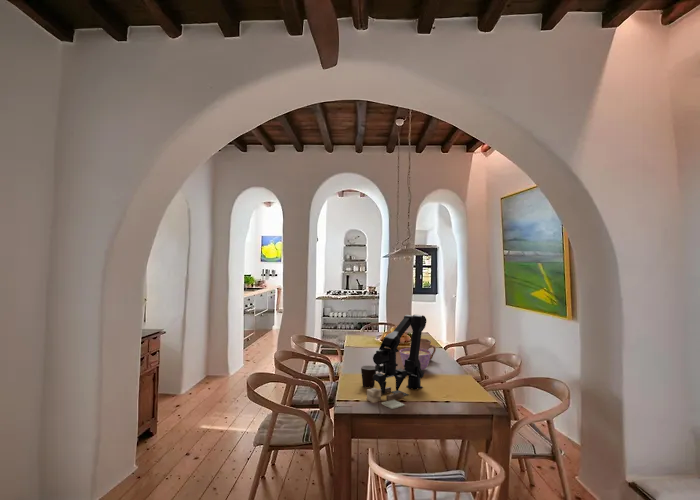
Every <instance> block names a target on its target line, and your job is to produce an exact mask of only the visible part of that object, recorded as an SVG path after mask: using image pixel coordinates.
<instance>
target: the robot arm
mask: <svg viewBox="0 0 700 500" xmlns="http://www.w3.org/2000/svg"><path fill="white" fill-rule="evenodd" d="M426 325H427V318H426V316H425V315H423V314H413V315H411V314H410V315H409V314H405V315H404V316H403V318H402V320H401V321H400V323H399V324H397V327H395V328H394V330H393V331H392V332H390V333H388V334H386V336H384V337H383V339H382V342H381V344H380V346H379V349H378V350H376V351H375V353H374V354H373V356H372V360H373V363H374V365H375V371H376V374H374V375H373V380H375V382H377V383H378V385H379V387H380V388H379V389H381V391H382V393H383V394H382V395H385V394H384V393H385V388H386V386H387V381H386V380H387V379H388V378H393V377H394V378H395V391H396V390H397V391H398V390H400V388H401V385H402V383H403V382H404V381H405V380H404V379H406V377H408V379H407V385H406V388H408V389H411V390H413V391H415V390H419V389H423V386H422V385H421V384H422V383H421V379H423V378H424V376H425V375H424V374H425V372H424V371H423V370H421V364H420V361H419V359H418V357H419V349H420V341H421V339H422V333H423V331H424V330H425V328H426ZM409 328H411V330H412V332H411V341H410V344H411V346H410V347H409V348H410V355H409V358H408V359H407V360H405V365H403V367H404V369H402V368H397V367H398V365H399V364H398V363H397V353H398V352H399V353H400V350H399V349H398V347H399V345H400V343H401V338H402V336H403V335H404V334H405V333H406V331H407V330H408V329H409Z"/></svg>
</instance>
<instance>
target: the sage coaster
mask: <svg viewBox="0 0 700 500" xmlns="http://www.w3.org/2000/svg"><path fill="white" fill-rule="evenodd" d="M380 403H381V405H382V406H384V407H387V408H388V409H391V410H394V409H397V408H402V407H405V406H406V404H405V403H403V402H400V401H398V400H397V399H396V400H390V401H383V402H380Z"/></svg>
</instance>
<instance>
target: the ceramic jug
mask: <svg viewBox="0 0 700 500" xmlns="http://www.w3.org/2000/svg"><path fill="white" fill-rule="evenodd" d="M431 343H432V341H431V340H430V339H428V338H421V341H420V349H426V350H429V349H430V348H433V351H432V352H431V356H430V360H429V362H430V361H431V360H432V359H433V357H434V355H435V353H436V349H437V347H436V346H435V345H433V344H431ZM409 346H410V347H411V343H410V344H409Z"/></svg>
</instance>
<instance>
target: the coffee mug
mask: <svg viewBox="0 0 700 500" xmlns="http://www.w3.org/2000/svg"><path fill="white" fill-rule="evenodd" d="M360 371H361V381H362V382H361V383H362V387H364V388H368V389H372V388H375V383H376V381H375V380H373V375H374V374H377V371H375V366H374V365H368V364H367V365H362V366H360Z"/></svg>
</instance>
